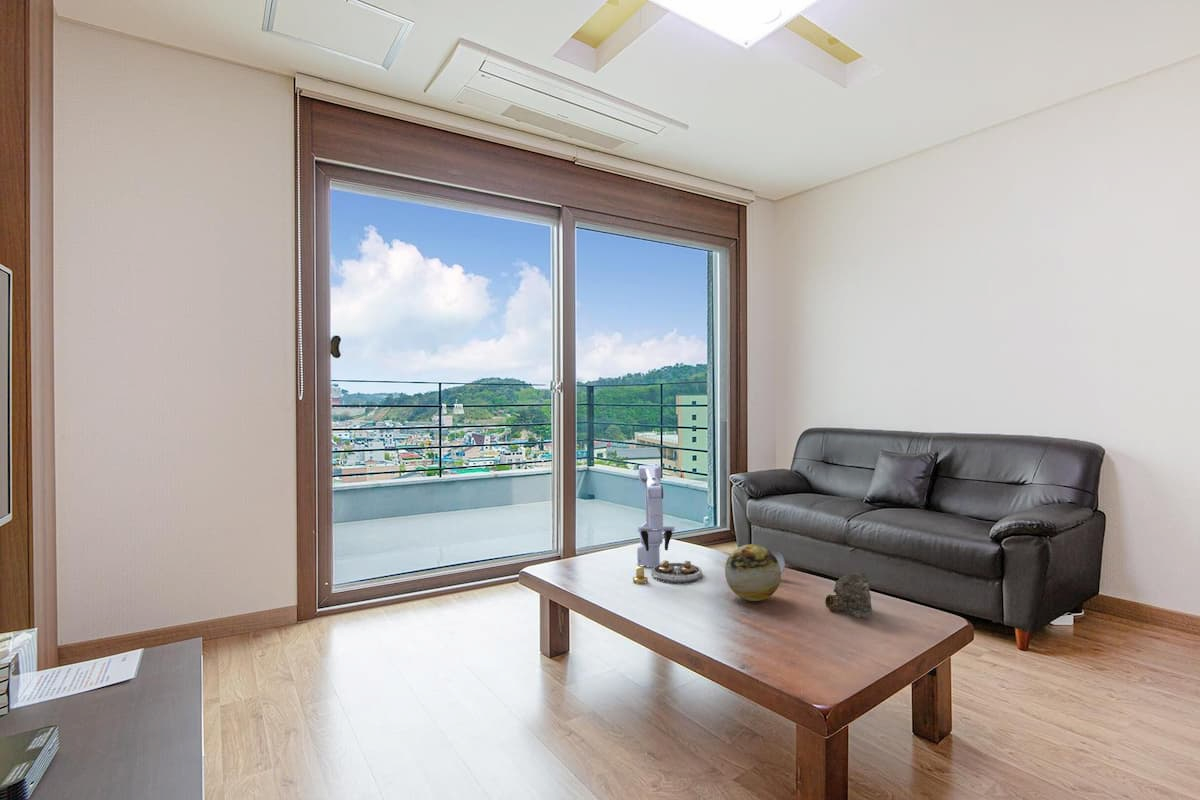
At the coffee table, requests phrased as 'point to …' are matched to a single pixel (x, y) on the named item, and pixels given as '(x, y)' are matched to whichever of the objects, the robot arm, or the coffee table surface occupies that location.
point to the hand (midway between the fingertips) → (656, 550)
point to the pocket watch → (779, 560)
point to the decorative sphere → (753, 572)
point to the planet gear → (640, 575)
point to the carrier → (677, 572)
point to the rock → (851, 596)
